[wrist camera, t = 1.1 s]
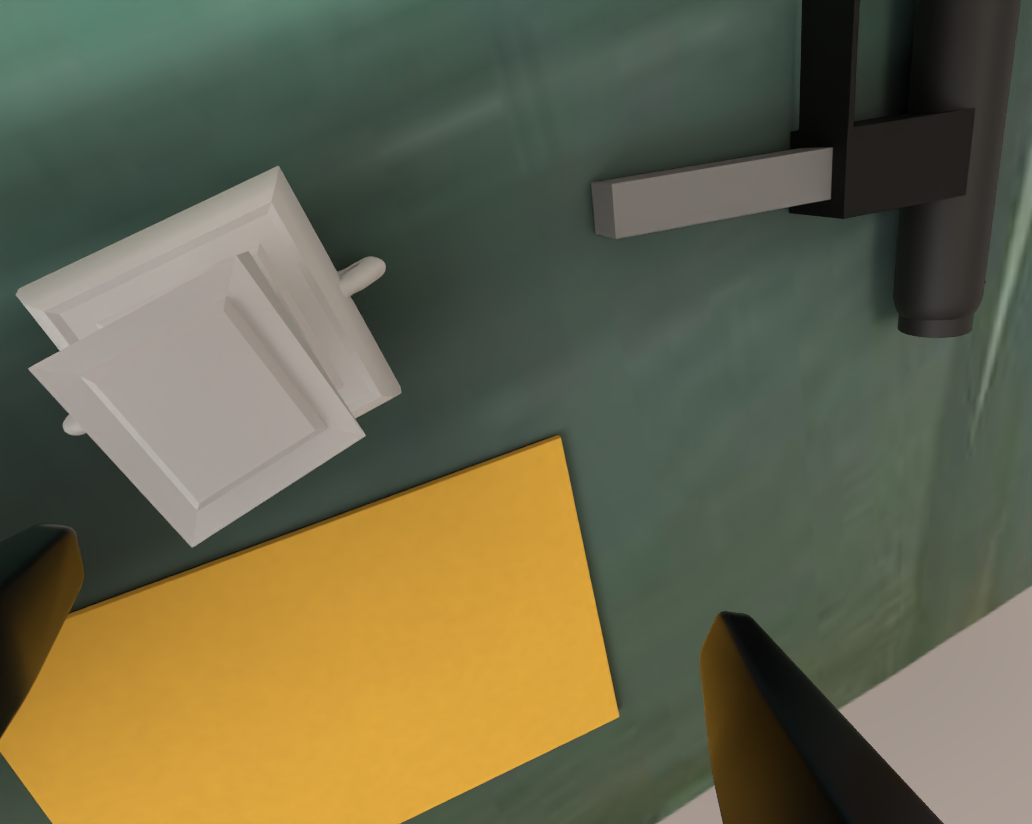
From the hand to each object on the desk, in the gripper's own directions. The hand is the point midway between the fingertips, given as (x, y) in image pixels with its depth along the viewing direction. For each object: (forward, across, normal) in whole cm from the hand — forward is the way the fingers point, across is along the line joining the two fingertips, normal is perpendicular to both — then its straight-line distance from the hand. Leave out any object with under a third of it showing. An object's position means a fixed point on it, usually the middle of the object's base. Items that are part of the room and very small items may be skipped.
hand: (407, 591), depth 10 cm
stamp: (+12, +6, +2) cm, 13 cm away
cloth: (+9, +2, +15) cm, 18 cm away
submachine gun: (+19, -10, -7) cm, 23 cm away
